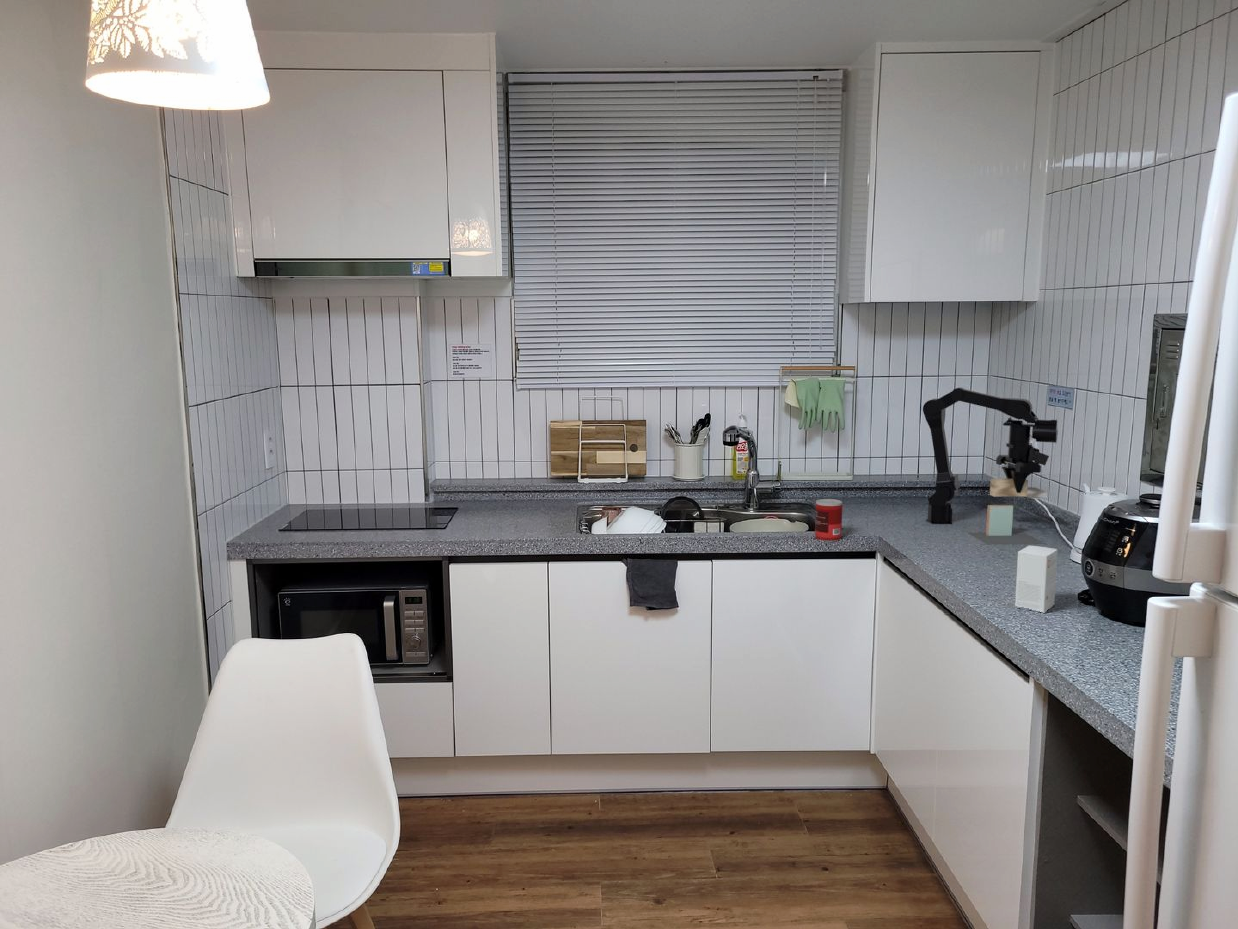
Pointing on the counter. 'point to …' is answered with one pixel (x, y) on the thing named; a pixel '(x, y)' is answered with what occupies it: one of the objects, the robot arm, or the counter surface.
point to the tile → (999, 520)
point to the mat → (1007, 539)
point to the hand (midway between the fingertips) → (1016, 491)
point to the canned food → (828, 519)
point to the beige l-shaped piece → (1008, 489)
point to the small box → (1036, 578)
